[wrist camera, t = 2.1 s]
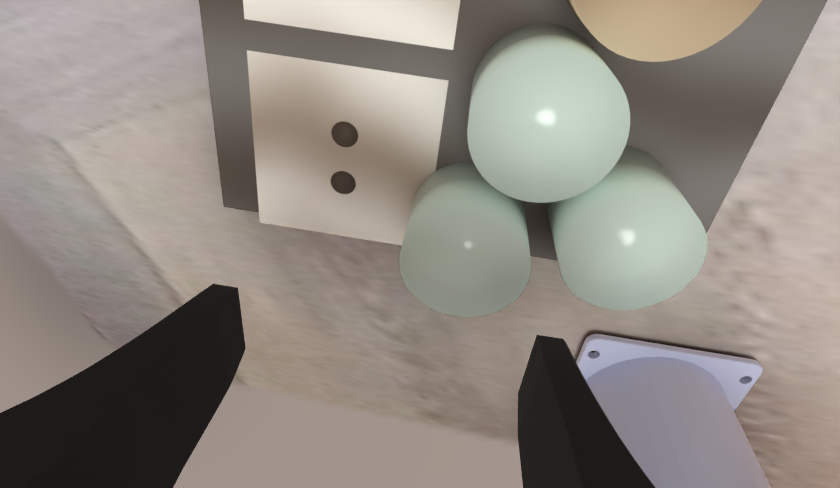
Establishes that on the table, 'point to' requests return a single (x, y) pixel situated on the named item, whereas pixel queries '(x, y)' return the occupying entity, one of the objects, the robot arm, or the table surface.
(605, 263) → the pale green dome
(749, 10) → the beige rounded lump
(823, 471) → the table surface
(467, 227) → the mint rounded block
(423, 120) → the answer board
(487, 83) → the mint cylinder
